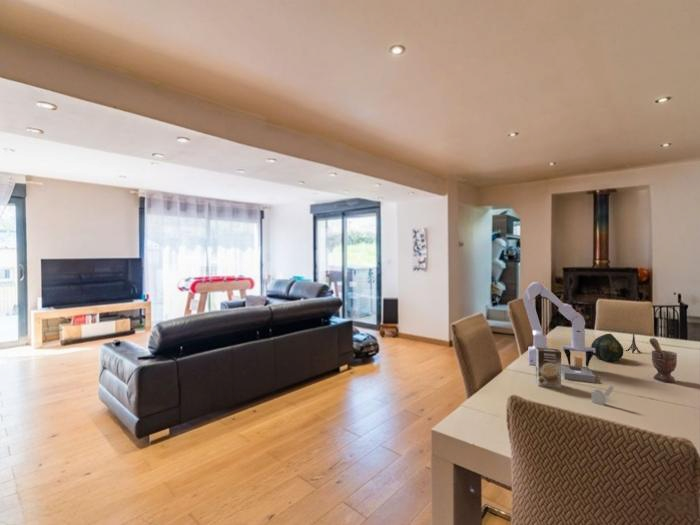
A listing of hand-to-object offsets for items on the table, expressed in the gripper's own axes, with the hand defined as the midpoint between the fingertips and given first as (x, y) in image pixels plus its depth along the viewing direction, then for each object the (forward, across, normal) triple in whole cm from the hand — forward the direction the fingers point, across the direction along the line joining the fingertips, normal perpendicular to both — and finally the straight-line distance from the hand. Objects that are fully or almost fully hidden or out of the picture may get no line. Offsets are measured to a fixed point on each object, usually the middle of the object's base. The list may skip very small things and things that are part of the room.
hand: (578, 365), depth 177 cm
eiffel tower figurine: (+3, +37, +48) cm, 61 cm away
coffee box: (+2, -17, -31) cm, 35 cm away
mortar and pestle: (+2, +32, -6) cm, 33 cm away
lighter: (+2, 0, -46) cm, 46 cm away
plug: (+2, 0, 0) cm, 2 cm away
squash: (+2, +18, +25) cm, 31 cm away
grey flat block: (+2, -3, -13) cm, 13 cm away
